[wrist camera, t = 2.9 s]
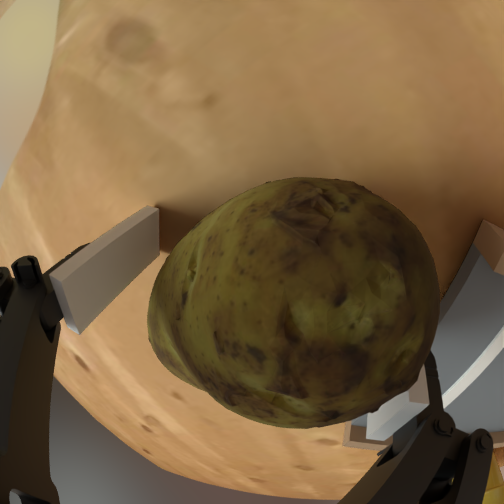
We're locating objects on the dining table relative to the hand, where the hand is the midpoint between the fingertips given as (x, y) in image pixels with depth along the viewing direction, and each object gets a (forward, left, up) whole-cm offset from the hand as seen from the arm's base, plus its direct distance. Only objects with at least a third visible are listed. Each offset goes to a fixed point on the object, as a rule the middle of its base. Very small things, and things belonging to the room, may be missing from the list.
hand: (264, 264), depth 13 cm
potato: (0, 0, 0) cm, 0 cm away
